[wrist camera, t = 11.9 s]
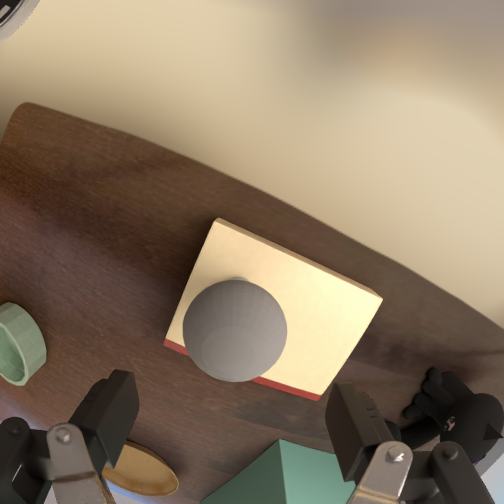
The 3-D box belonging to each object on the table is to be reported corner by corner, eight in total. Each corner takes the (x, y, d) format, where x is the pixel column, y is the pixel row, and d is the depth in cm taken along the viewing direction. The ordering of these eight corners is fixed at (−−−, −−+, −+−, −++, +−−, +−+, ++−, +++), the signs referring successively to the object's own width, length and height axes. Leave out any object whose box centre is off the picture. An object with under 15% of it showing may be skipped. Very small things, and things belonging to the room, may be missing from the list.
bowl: (-6, 296, 26) (-29, 309, 21) (39, 307, 27) (14, 323, 22) (10, 357, 28) (-9, 373, 23) (56, 373, 29) (37, 394, 24)
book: (170, 329, 27) (162, 345, 24) (218, 216, 25) (213, 220, 22) (312, 383, 29) (317, 401, 26) (370, 288, 27) (383, 299, 24)
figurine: (414, 353, 28) (485, 433, 14) (475, 364, 29) (535, 420, 15) (352, 445, 31) (383, 528, 17) (419, 444, 32) (456, 506, 18)
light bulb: (237, 238, 22) (230, 275, 13) (291, 290, 23) (318, 356, 13) (186, 290, 23) (148, 354, 13) (238, 337, 24) (234, 418, 14)
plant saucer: (80, 449, 32) (74, 460, 29) (107, 413, 30) (100, 426, 27) (155, 492, 34) (152, 503, 31) (200, 466, 32) (198, 479, 29)
